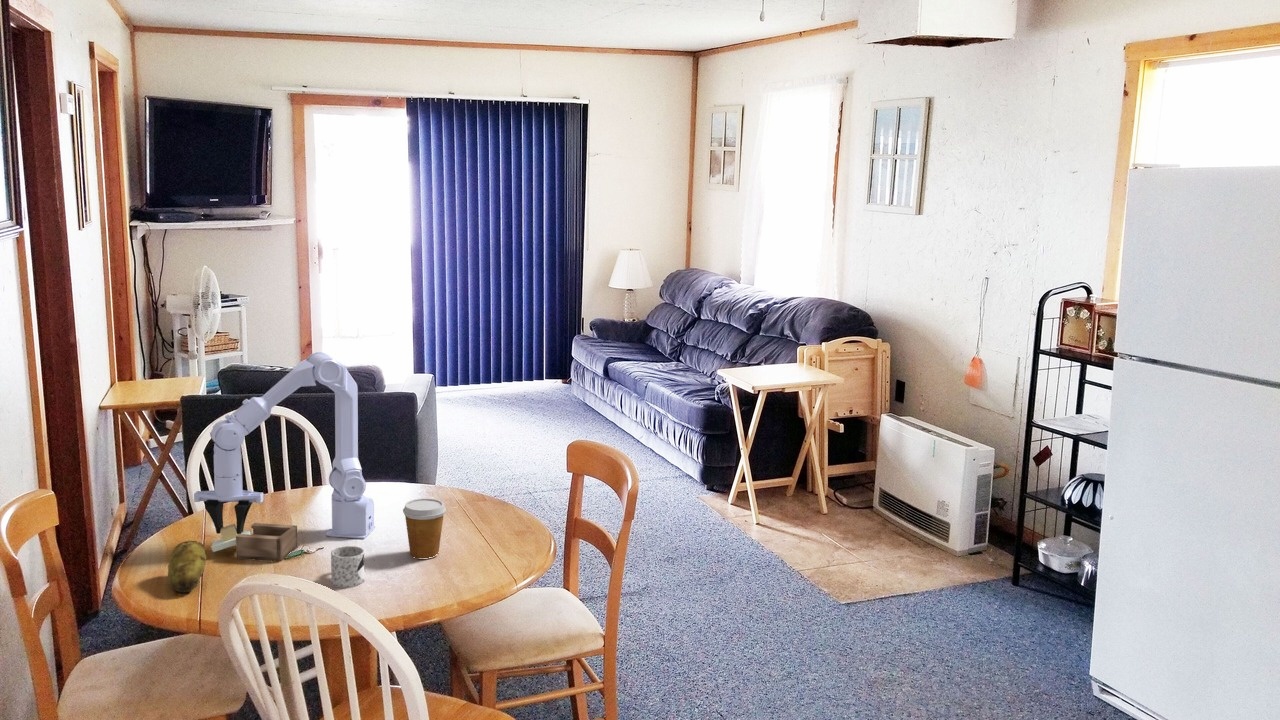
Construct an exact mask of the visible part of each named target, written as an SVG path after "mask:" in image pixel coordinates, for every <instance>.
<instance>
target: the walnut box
mask: <svg viewBox="0 0 1280 720" xmlns="http://www.w3.org/2000/svg"><path fill="white" fill-rule="evenodd" d="M250 529H252V531H253V532H252V533H251V534H252V535H249V534H239V535H237V536H236V545H235V549H236V550H235V552H236V553H235V554H236V556H235V557H236V560H245V559H255V560H254V561H261V560H262V562H263V561H265V562H276V563H277V562H280V563H281V562H282V561H283V560H285V559H286V558H287V557H288V556H289V555H290V554H291V553H293V552H294V551H295V550H296V549H298V525H291V524H276V523H275V524H274V523H261V522H254V523H253V524H251V526H250ZM292 551H293V552H292ZM290 552H291V553H290ZM289 553H290V554H289ZM288 554H289V555H288ZM287 555H288V556H287ZM286 556H287V557H286Z"/></svg>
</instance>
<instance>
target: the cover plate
mask: <svg viewBox="0 0 1280 720" xmlns="http://www.w3.org/2000/svg"><path fill="white" fill-rule="evenodd" d="M220 532H221V533H220V535H221V538H217V539H214V540H213V541H212V544H211V548H210V549H211V550H212V553H216V552H218V551H221V550H223V549H227V548H230V547H234V546H236V536H237V535H239V534H237V524H236V523H232V524H230V525H226V526H223V527H222V528H221V530H220ZM241 534H249V535H252V534H253V533H252V531H251V528H249V529H246V530H243V532H242V533H241Z"/></svg>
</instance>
